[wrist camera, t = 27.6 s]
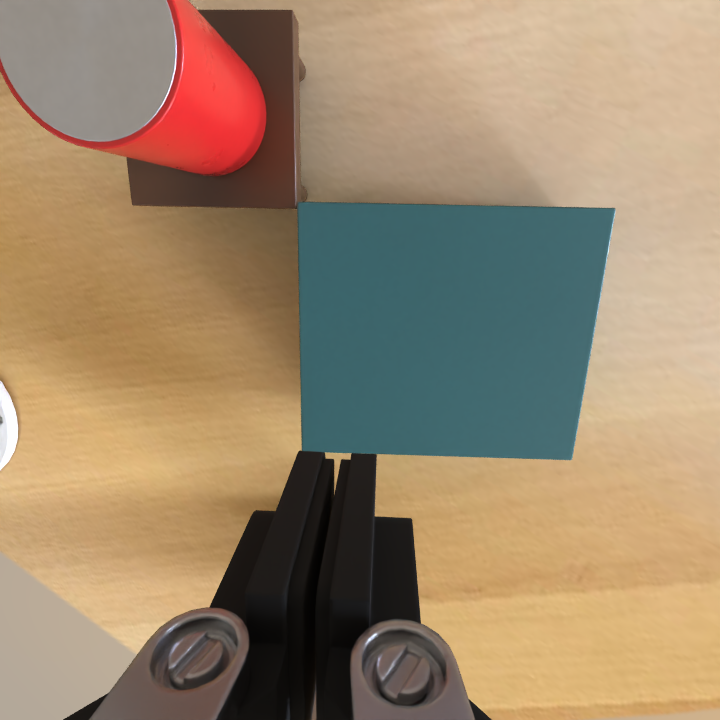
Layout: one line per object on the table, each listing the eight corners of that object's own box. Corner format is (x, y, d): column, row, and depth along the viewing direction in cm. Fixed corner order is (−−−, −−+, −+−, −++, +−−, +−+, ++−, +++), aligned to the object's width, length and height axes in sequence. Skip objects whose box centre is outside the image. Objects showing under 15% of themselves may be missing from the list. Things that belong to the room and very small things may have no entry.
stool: (179, 207, 31) (131, 205, 25) (165, 52, 28) (108, 9, 22) (313, 210, 30) (296, 208, 25) (312, 52, 28) (292, 9, 22)
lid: (303, 445, 27) (301, 452, 26) (299, 202, 23) (296, 201, 22) (566, 453, 27) (572, 460, 26) (608, 208, 23) (616, 208, 22)
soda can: (157, 175, 24) (8, 147, 15) (143, 44, 23) (-35, -84, 13) (268, 177, 24) (191, 149, 15) (264, 44, 22) (172, -86, 13)
